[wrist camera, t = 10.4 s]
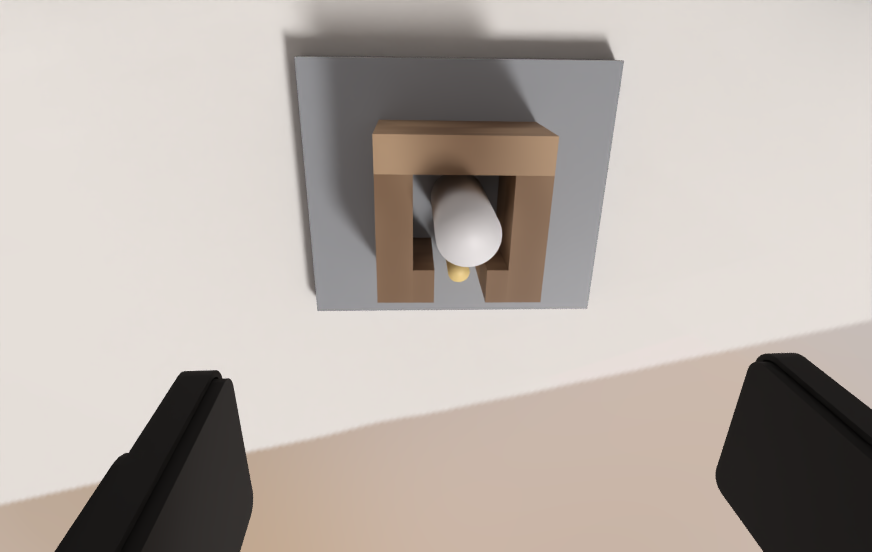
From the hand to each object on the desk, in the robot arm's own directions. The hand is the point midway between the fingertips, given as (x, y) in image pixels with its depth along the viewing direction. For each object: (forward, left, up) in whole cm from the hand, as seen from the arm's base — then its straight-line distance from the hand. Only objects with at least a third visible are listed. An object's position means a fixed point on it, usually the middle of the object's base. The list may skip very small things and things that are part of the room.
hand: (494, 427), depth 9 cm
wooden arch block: (+1, 0, -16) cm, 16 cm away
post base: (+1, 0, -17) cm, 17 cm away
